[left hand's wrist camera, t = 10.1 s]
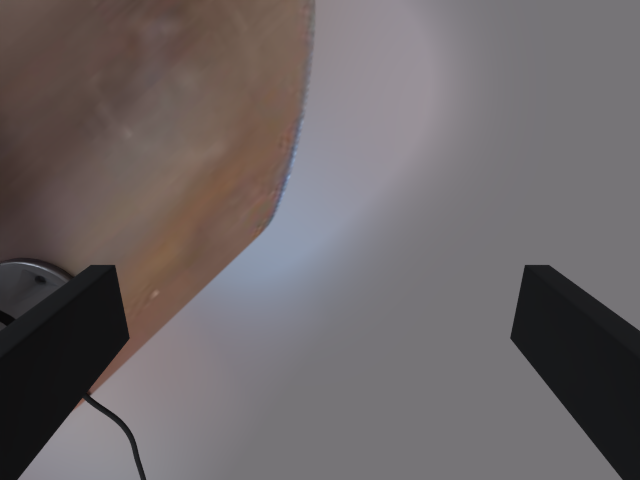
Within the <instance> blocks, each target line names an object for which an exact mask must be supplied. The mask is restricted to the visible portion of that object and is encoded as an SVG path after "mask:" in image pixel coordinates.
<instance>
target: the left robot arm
mask: <svg viewBox="0 0 640 480" xmlns="http://www.w3.org/2000/svg"><path fill="white" fill-rule="evenodd" d="M510 338H511V340H512V341H513V342H514V344H515V345H516V346H517V347H518V349H519V350H520V351H521V352H522V354H523V355H524V356H525V357H526V359H527V360H528V361H529V362H530V364H531V365H532V366H533V367H534V369H535V370H536V371H537V372H538V374H539V375H540V376H541V377H542V379H543V380H544V381H545V383H546V384H547V385H548V386H549V388H550V389H551V390H552V391H553V393H554V394H555V395H556V396H557V398H558V399H559V400H560V401H561V403H562V404H563V405H564V406H565V408H566V409H567V410H568V412H569V413H570V414H571V415H572V417H573V418H574V419H575V420H576V422H577V423H578V424H579V425H580V427H581V428H582V429H583V430H584V432H585V433H586V434H587V435H588V437H589V438H590V439H591V440H592V442H593V443H594V444H595V445H596V447H597V448H598V449H599V451H600V452H601V453H602V454H603V456H604V457H605V458H606V459H607V461H608V462H609V463H610V464H611V466H612V467H613V468H614V469H615V471H616V472H617V473H618V474H619V476H620V477H621V478H622V479H623V480H640V331H639V330H638V329H636V328H635V327H634V326H632V325H631V324H629V323H628V322H627V321H625V320H624V319H623V318H621V317H620V316H618V315H617V314H616V313H614V312H613V311H612V310H610V309H609V308H607V307H606V306H605V305H603V304H602V303H601V302H599V301H598V300H596V299H595V298H594V297H592V296H591V295H589V294H588V293H587V292H585V291H584V290H583V289H581V288H580V287H578V286H577V285H576V284H574V283H573V282H572V281H570V280H569V279H567V278H566V277H565V276H563V275H562V274H561V273H559V272H558V271H556V270H555V269H554V268H552V267H551V266H550V265H525V268H524V273H523V278H522V283H521V288H520V293H519V298H518V303H517V308H516V313H515V318H514V323H513V327H512V332H511V337H510ZM129 339H130V337H129V332H128V327H127V322H126V317H125V313H124V308H123V303H122V298H121V293H120V288H119V283H118V278H117V273H116V268H115V265H90V266H89V267H88V268H86V269H85V270H84V271H82V272H81V273H79V274H78V275H77V276H75V277H74V278H73V277H72V276H71V275H70V274H68V273H67V272H65V271H64V270H62V269H60V268H59V267H57V266H55V265H52V264H50V263H47V262H44V261H41V260H36V259H29V258H17V259H11V260H7V261H4V262H1V263H0V480H17V479H18V478H19V477H20V476H21V474H22V473H23V472H24V471H25V469H26V468H27V467H28V466H29V464H30V463H31V462H32V461H33V459H34V458H35V457H36V456H37V454H38V453H39V452H40V451H41V449H42V448H43V447H44V445H45V444H46V443H47V442H48V440H49V439H50V438H51V437H52V435H53V434H54V433H55V432H56V430H57V429H58V428H59V427H60V425H61V424H62V423H63V422H64V420H65V419H66V418H67V417H68V415H69V414H70V413H71V412H72V410H73V409H74V408H75V406H76V405H77V404H78V403H79V401H80V400H81V399H82V398H84V399H85V400H86V401H87V402H88V403H90V404H91V405H92V406H93V407H95V408H96V409H98V410H99V411H101V412H102V413H104V414H105V415H107V416H108V417H110V418H111V419H112V420H113V421H115V422H116V423H117V424H118V425H119V426H120V427H121V428H122V429H123V431H124V432H125V433H126V435H127V437H128V439H129V441H130V443H131V446H132V450H133V454H134V459H135V462H136V465H137V468H138V471H139V475H140V478H141V480H146V477H145V474H144V471H143V467H142V464H141V461H140V458H139V454H138V449H137V445H136V442H135V439H134V436H133V434H132V433H131V431H130V429H129V428H128V427H127V425H126V424H125V423H124V422H123V421H122V420H121V419H120V418H119V417H118V416H116V415H115V414H114V413H112V412H111V411H109V410H108V409H107V408H105V407H104V406H102V405H101V404H99V403H98V402H96V401H95V400H94V399H93V398H91V397H90V396H89V395H88V394H87V391H88V390H89V389H90V388H91V386H92V385H93V384H94V383H95V381H96V380H97V379H98V378H99V376H100V375H101V374H102V373H103V371H104V370H105V369H106V367H107V366H108V365H109V364H110V362H111V361H112V360H113V359H114V357H115V356H116V355H117V354H118V352H119V351H120V350H121V349H122V347H123V346H124V345H125V344H126V342H127V341H128V340H129Z"/></svg>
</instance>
